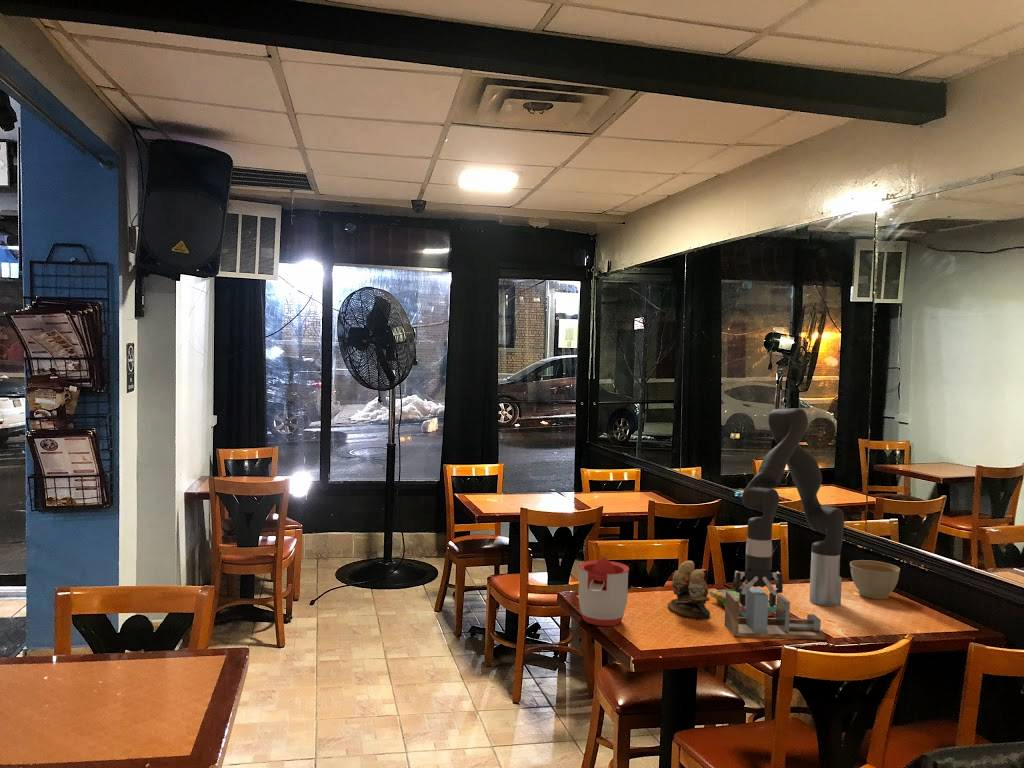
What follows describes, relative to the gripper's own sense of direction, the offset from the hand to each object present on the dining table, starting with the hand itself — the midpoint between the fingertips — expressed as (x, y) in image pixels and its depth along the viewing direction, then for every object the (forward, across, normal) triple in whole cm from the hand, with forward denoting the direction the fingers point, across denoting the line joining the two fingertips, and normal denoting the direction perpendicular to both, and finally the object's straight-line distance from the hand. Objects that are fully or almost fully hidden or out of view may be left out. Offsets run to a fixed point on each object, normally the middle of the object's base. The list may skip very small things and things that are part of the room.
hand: (757, 606), depth 229 cm
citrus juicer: (+8, +46, -5) cm, 47 cm away
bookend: (+6, -13, 0) cm, 14 cm away
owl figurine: (+8, +16, -17) cm, 25 cm away
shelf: (+8, -5, 0) cm, 9 cm away
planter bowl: (+9, -56, -42) cm, 70 cm away
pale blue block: (+7, 0, 0) cm, 7 cm away
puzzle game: (+8, -2, -22) cm, 24 cm away
